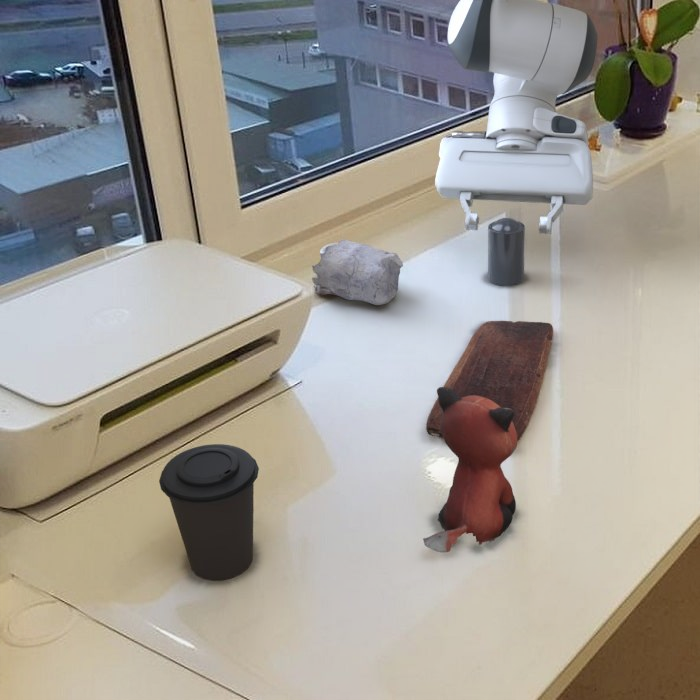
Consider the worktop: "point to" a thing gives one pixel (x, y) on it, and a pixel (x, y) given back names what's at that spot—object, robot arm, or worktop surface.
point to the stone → (357, 272)
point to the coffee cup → (213, 507)
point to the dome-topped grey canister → (506, 252)
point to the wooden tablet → (501, 369)
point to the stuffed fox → (475, 469)
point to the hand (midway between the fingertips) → (507, 230)
